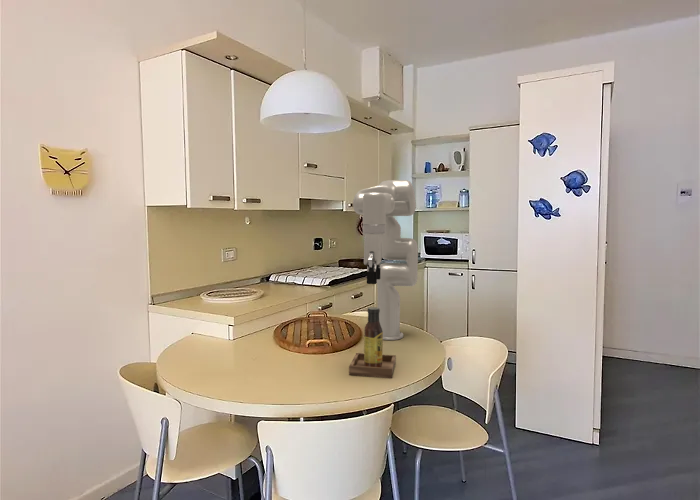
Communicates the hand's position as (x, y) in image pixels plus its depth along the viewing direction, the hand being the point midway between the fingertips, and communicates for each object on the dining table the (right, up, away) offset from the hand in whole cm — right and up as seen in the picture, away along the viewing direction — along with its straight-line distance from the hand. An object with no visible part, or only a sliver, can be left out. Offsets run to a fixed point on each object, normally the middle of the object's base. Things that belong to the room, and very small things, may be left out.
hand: (373, 281), depth 147 cm
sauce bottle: (0, -29, +3) cm, 29 cm away
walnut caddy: (0, -30, +2) cm, 30 cm away
